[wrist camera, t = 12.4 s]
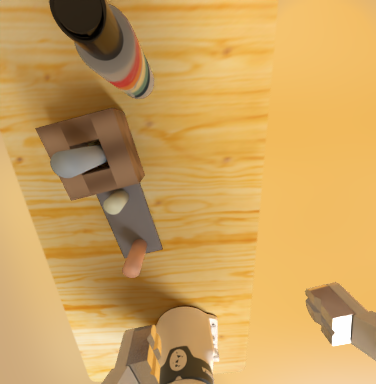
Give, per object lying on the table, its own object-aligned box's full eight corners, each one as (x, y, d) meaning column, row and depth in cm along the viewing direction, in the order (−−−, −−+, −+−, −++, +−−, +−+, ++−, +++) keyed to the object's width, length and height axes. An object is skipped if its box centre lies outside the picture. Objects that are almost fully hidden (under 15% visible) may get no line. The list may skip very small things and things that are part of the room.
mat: (162, 248, 42) (162, 249, 42) (125, 257, 42) (124, 258, 42) (138, 179, 37) (138, 179, 36) (95, 190, 37) (94, 190, 37)
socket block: (144, 175, 36) (138, 183, 31) (87, 189, 37) (71, 200, 31) (123, 111, 33) (112, 107, 27) (59, 128, 33) (35, 128, 27)
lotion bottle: (120, 96, 32) (35, 46, 13) (121, 58, 30) (25, -64, 11) (153, 102, 32) (117, 61, 13) (156, 65, 31) (120, -42, 12)
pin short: (131, 201, 38) (124, 212, 33) (116, 205, 38) (107, 216, 33) (125, 187, 37) (117, 196, 32) (110, 191, 37) (100, 200, 32)
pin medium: (148, 249, 42) (142, 275, 34) (135, 252, 42) (126, 279, 34) (144, 237, 41) (136, 262, 33) (130, 240, 41) (119, 266, 33)
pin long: (118, 158, 35) (83, 175, 22) (102, 161, 35) (57, 180, 22) (113, 141, 34) (72, 148, 21) (96, 145, 34) (45, 154, 21)
